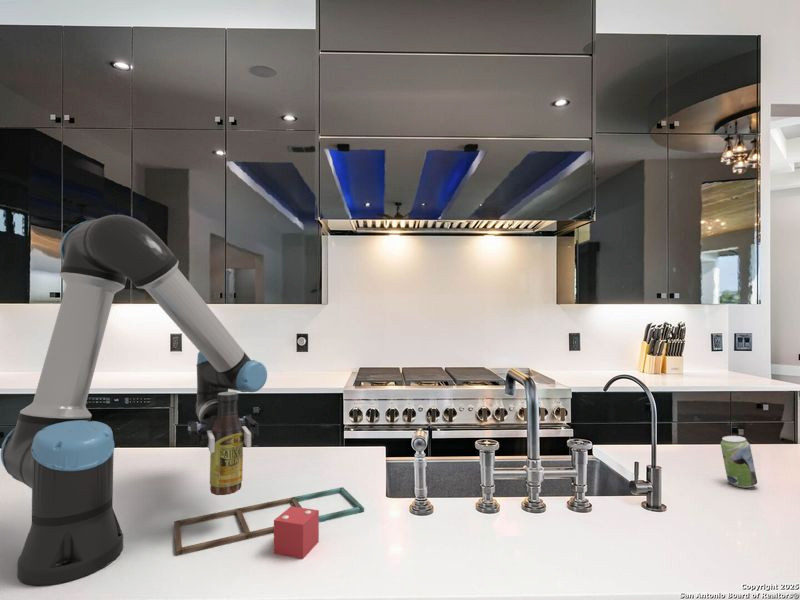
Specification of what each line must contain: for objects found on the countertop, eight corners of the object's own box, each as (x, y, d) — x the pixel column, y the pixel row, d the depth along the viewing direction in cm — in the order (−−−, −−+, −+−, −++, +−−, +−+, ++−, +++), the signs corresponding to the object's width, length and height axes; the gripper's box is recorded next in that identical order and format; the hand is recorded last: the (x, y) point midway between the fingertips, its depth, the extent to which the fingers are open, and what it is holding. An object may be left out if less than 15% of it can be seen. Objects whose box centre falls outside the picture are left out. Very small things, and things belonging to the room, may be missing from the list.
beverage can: (763, 490, 109) (762, 441, 109) (733, 490, 109) (732, 440, 110) (744, 480, 115) (743, 433, 116) (715, 480, 116) (714, 433, 116)
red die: (273, 553, 81) (273, 519, 81) (290, 537, 87) (290, 505, 87) (303, 558, 79) (303, 523, 80) (318, 541, 85) (318, 509, 85)
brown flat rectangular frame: (176, 555, 80) (176, 551, 80) (174, 525, 92) (174, 521, 92) (364, 511, 98) (364, 507, 98) (342, 490, 109) (342, 487, 109)
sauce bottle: (220, 499, 87) (219, 397, 87) (203, 492, 91) (202, 394, 91) (250, 488, 92) (248, 392, 92) (232, 481, 96) (231, 389, 96)
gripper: (257, 428, 112) (280, 454, 92) (172, 439, 103) (176, 471, 82) (257, 398, 112) (280, 417, 92) (172, 406, 103) (176, 430, 83)
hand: (231, 443), depth 87 cm, fingers closed on sauce bottle, 6 cm apart
